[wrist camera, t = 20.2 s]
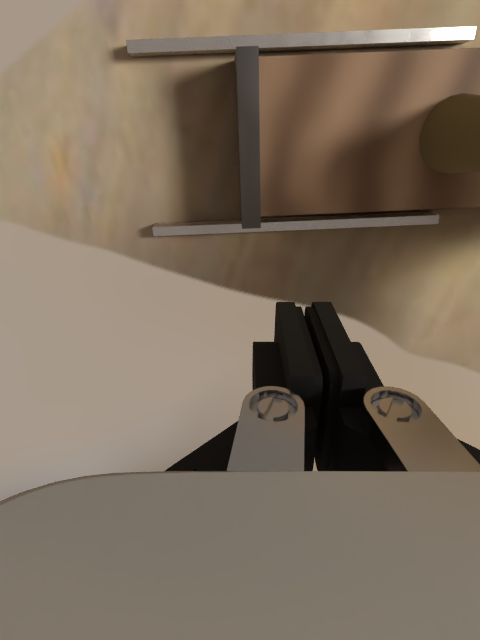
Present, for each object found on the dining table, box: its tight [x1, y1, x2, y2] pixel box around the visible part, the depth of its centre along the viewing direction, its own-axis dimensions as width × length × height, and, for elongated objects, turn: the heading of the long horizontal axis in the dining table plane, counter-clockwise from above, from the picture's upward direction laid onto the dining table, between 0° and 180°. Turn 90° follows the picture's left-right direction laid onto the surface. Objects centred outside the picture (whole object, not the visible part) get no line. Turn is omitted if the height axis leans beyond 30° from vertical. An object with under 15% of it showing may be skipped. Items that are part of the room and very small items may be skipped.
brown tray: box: [235, 46, 480, 229], centre depth 30 cm, size 24×12×6 cm, turn 92°
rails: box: [126, 26, 477, 236], centre depth 32 cm, size 26×15×2 cm, turn 92°
